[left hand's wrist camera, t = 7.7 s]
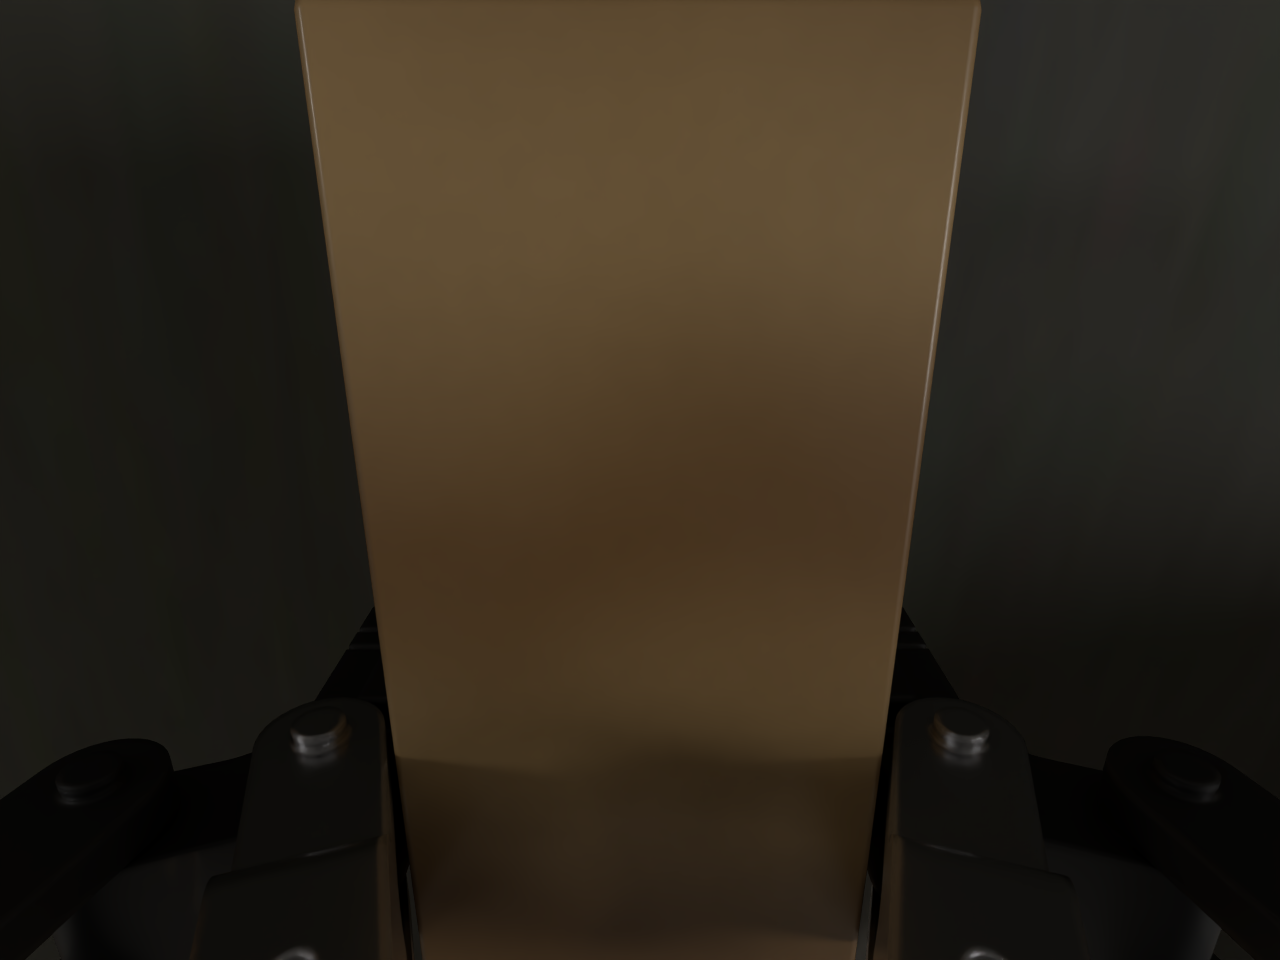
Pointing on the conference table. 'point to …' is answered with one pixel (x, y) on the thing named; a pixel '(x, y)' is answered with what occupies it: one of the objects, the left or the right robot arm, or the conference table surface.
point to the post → (638, 443)
